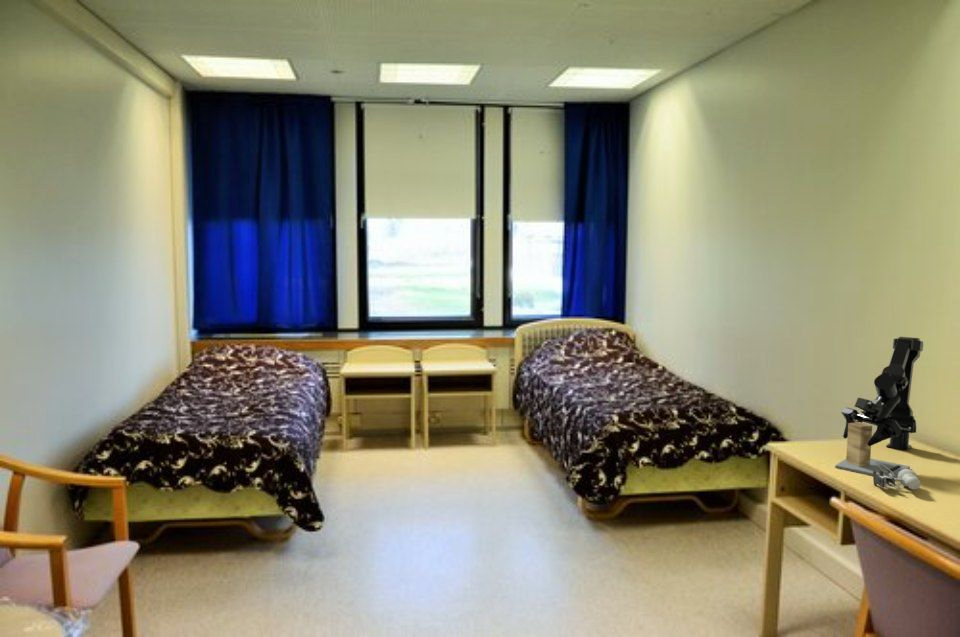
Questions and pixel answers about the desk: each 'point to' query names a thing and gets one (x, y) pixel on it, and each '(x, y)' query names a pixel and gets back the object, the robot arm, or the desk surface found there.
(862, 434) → the upright wooden block
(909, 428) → the robot arm
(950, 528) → the desk surface
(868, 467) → the slate mat
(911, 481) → the clip-on lamp
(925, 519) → the desk surface
